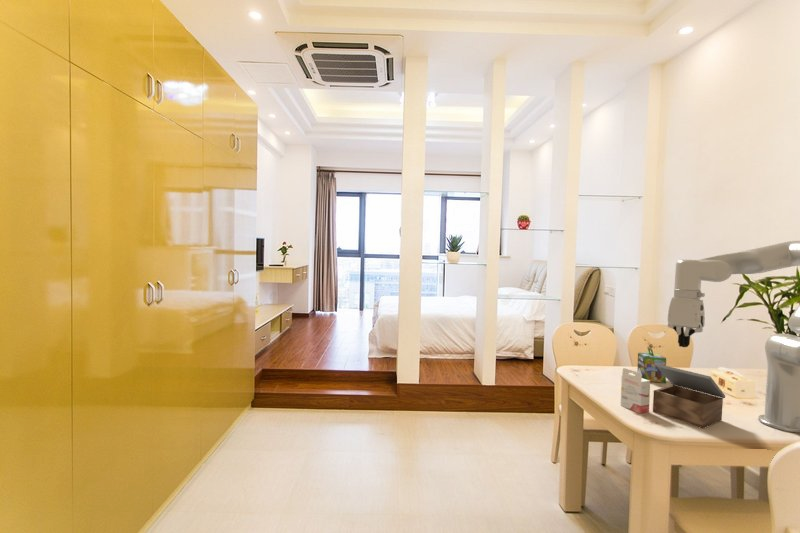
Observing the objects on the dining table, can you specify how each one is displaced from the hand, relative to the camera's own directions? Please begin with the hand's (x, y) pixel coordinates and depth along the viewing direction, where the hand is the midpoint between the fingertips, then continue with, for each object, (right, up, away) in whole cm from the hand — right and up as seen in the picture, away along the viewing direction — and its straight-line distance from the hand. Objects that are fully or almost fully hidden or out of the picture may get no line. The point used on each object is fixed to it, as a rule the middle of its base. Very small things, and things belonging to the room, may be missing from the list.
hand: (683, 346), depth 143 cm
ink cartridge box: (-12, -25, +9) cm, 29 cm away
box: (+3, -26, +3) cm, 26 cm away
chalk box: (+17, -25, +46) cm, 55 cm away
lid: (+4, -13, +3) cm, 14 cm away
